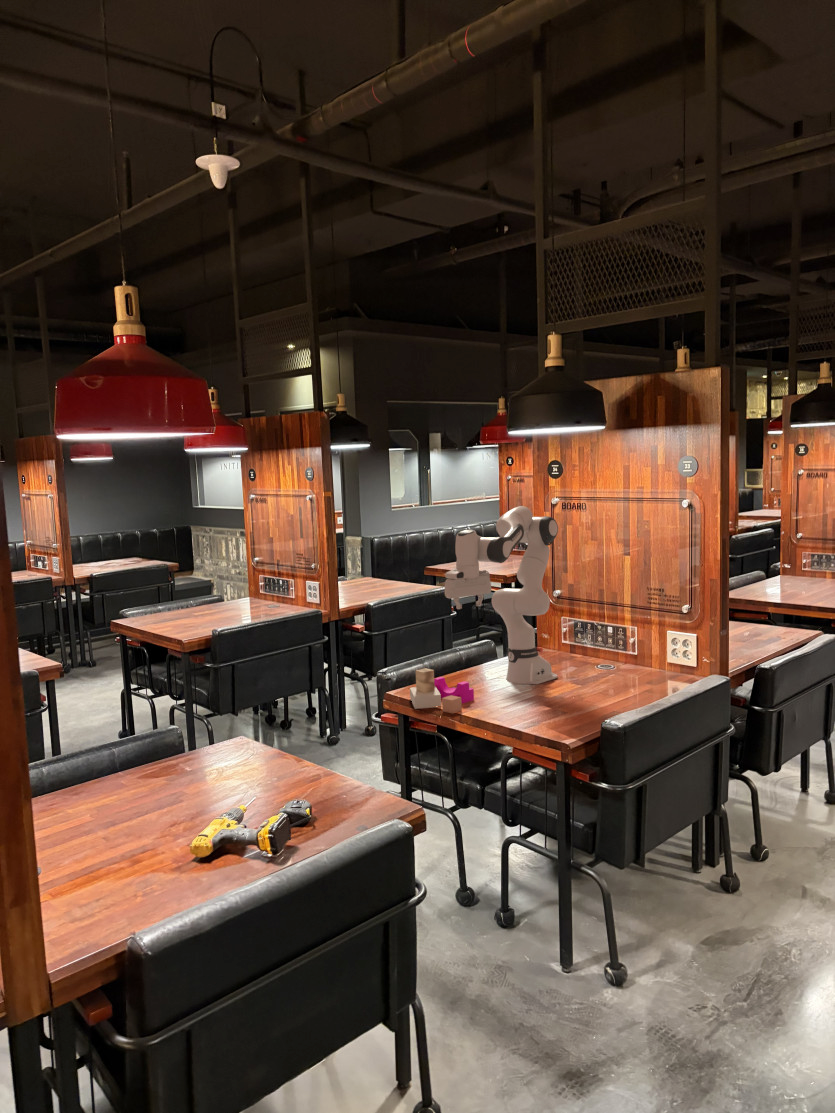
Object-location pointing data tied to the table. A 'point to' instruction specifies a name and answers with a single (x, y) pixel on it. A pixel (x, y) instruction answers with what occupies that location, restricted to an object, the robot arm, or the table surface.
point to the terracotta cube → (451, 704)
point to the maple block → (425, 680)
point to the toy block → (455, 690)
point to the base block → (425, 698)
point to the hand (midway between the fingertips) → (469, 607)
